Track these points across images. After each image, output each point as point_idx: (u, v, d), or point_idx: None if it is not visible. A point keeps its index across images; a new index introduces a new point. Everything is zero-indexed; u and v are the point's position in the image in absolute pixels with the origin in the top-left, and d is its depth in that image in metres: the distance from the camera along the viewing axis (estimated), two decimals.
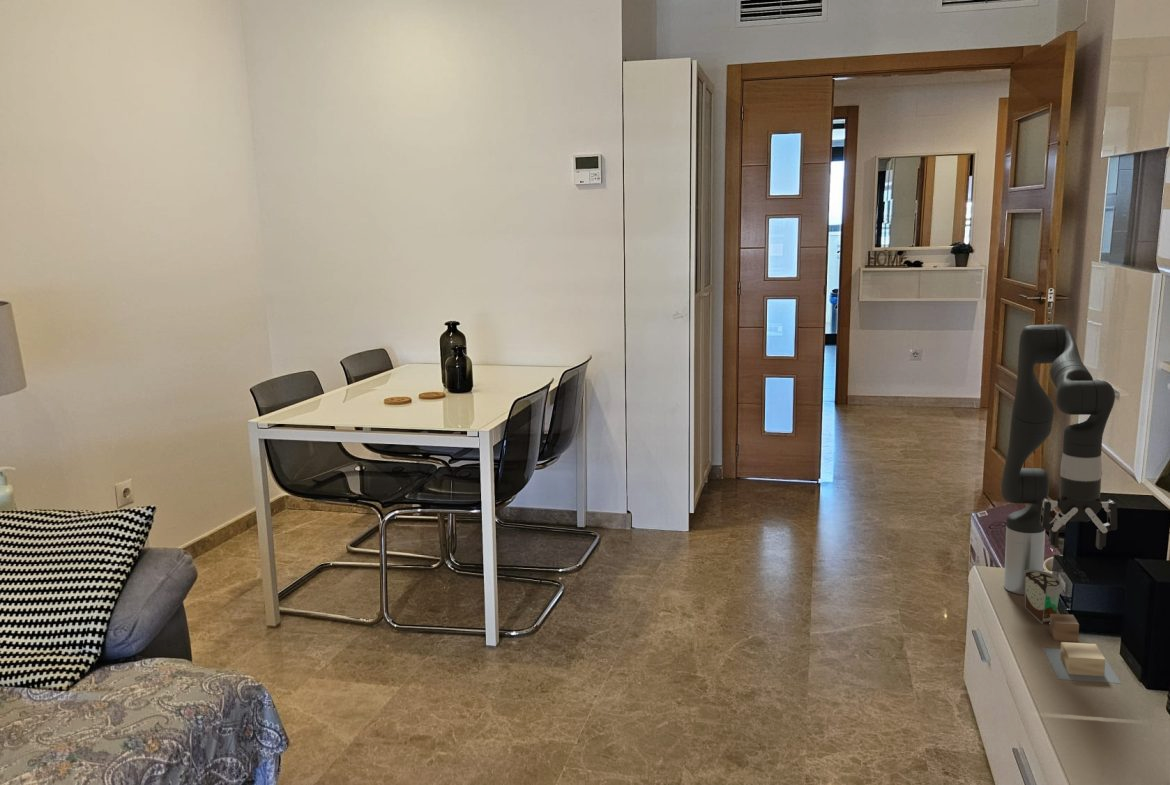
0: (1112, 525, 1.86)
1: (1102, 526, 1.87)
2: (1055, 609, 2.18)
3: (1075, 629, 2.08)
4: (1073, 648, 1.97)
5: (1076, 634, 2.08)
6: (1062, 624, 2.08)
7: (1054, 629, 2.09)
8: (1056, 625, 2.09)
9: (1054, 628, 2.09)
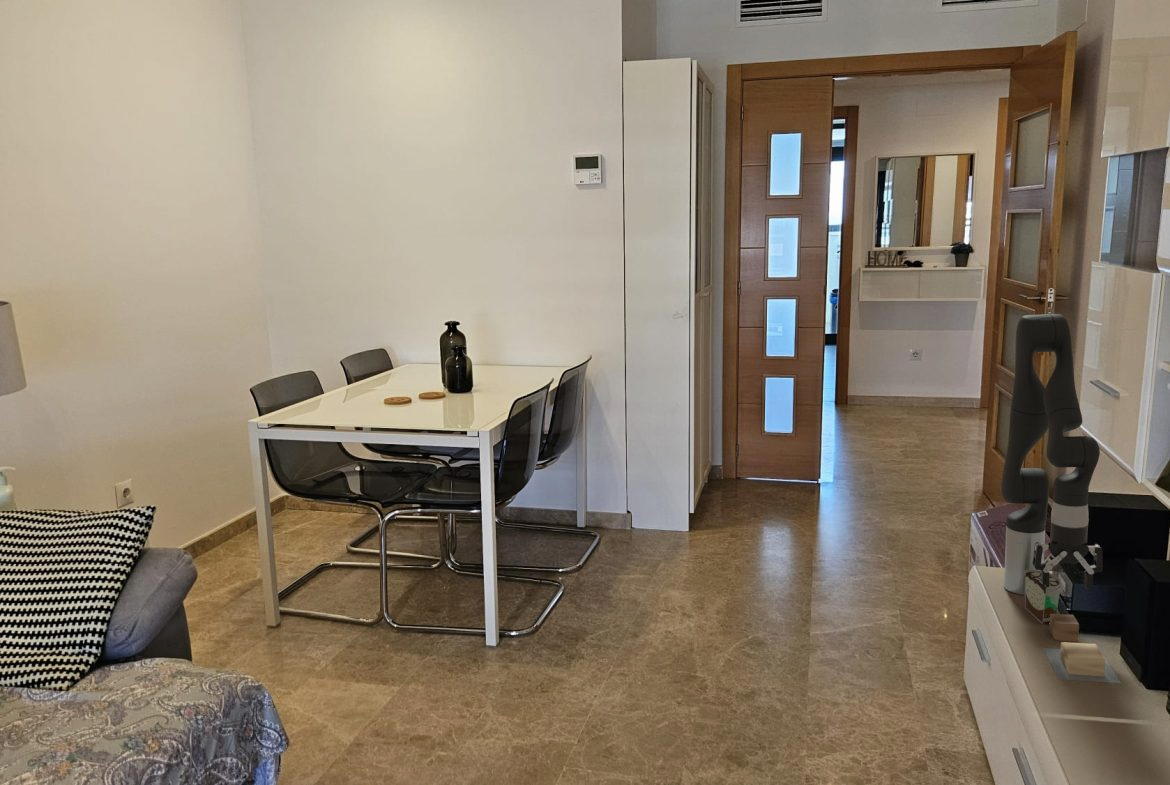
0: (1098, 567, 2.05)
1: (1089, 568, 2.05)
2: (1055, 609, 2.18)
3: (1075, 629, 2.08)
4: (1073, 648, 1.97)
5: (1076, 634, 2.08)
6: (1062, 624, 2.08)
7: (1054, 629, 2.09)
8: (1056, 625, 2.09)
9: (1054, 628, 2.09)
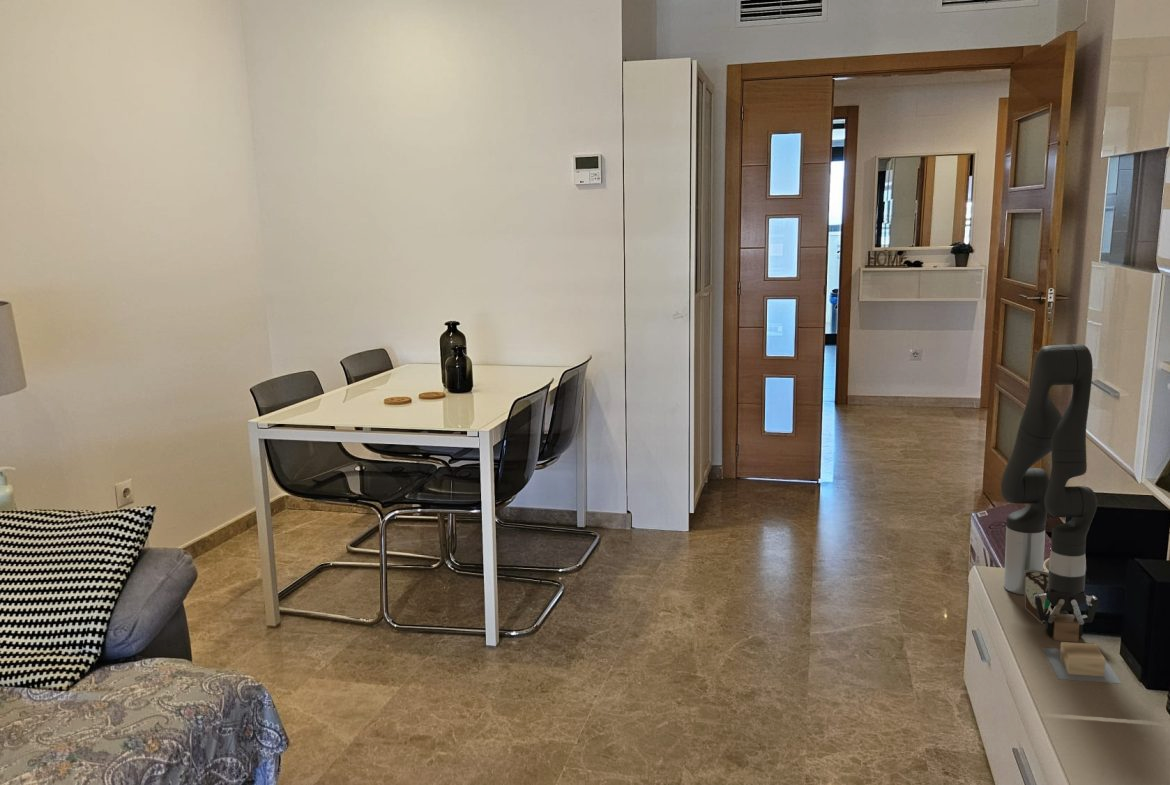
0: (1088, 618, 2.08)
1: (1079, 618, 2.08)
2: None
3: (1075, 629, 2.08)
4: (1073, 648, 1.97)
5: (1076, 633, 2.08)
6: (1062, 624, 2.08)
7: (1054, 629, 2.09)
8: (1056, 625, 2.08)
9: (1054, 628, 2.09)
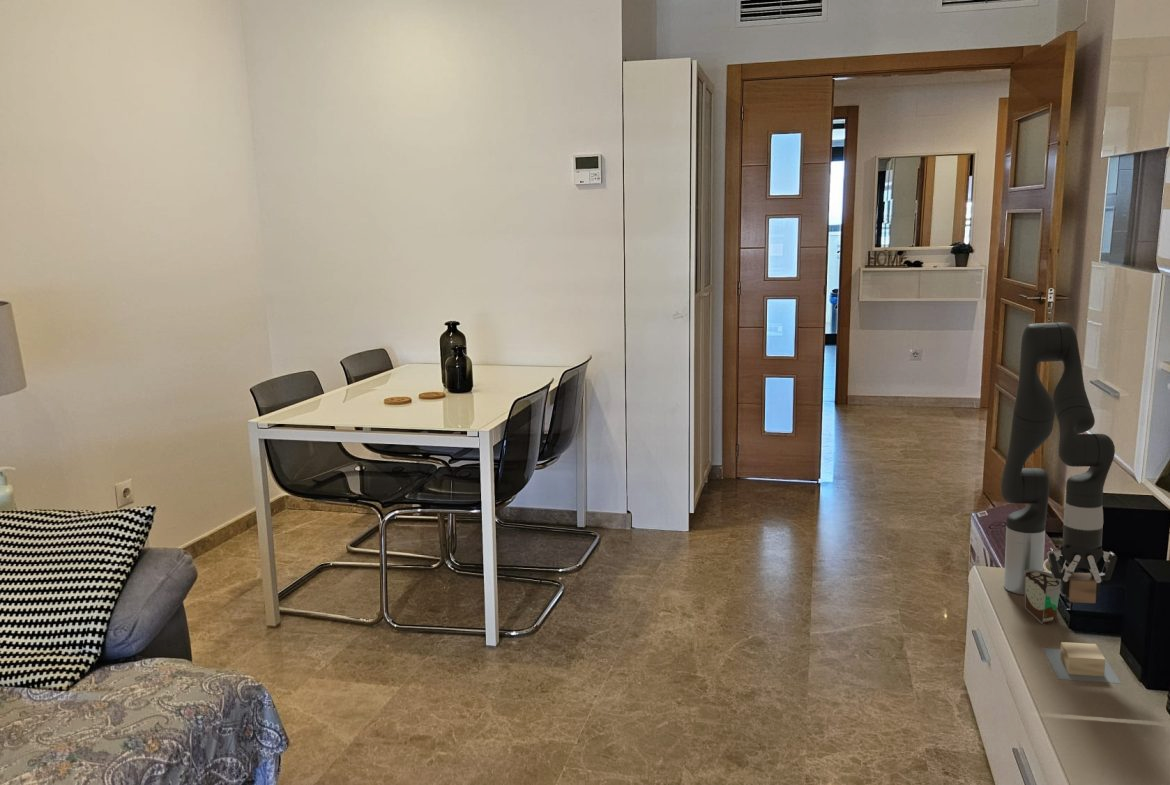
0: (1106, 575, 1.95)
1: (1096, 576, 1.96)
2: (1055, 609, 2.18)
3: (1092, 587, 1.95)
4: (1073, 648, 1.97)
5: (1093, 592, 1.95)
6: (1078, 582, 1.95)
7: (1070, 587, 1.97)
8: (1072, 583, 1.96)
9: (1070, 586, 1.97)
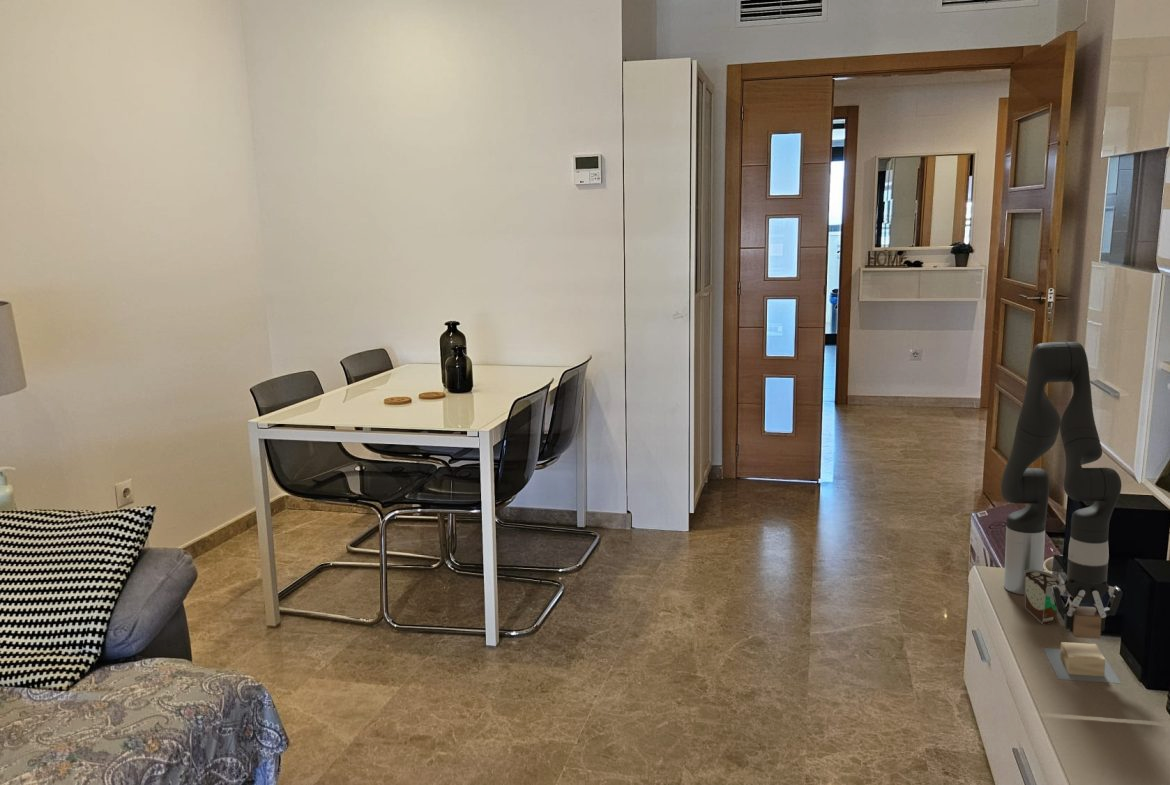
0: (1111, 610, 1.92)
1: (1101, 611, 1.92)
2: (1055, 609, 2.18)
3: (1097, 623, 1.92)
4: (1073, 648, 1.97)
5: (1098, 627, 1.92)
6: (1082, 617, 1.92)
7: (1074, 622, 1.93)
8: (1076, 618, 1.92)
9: (1074, 621, 1.93)
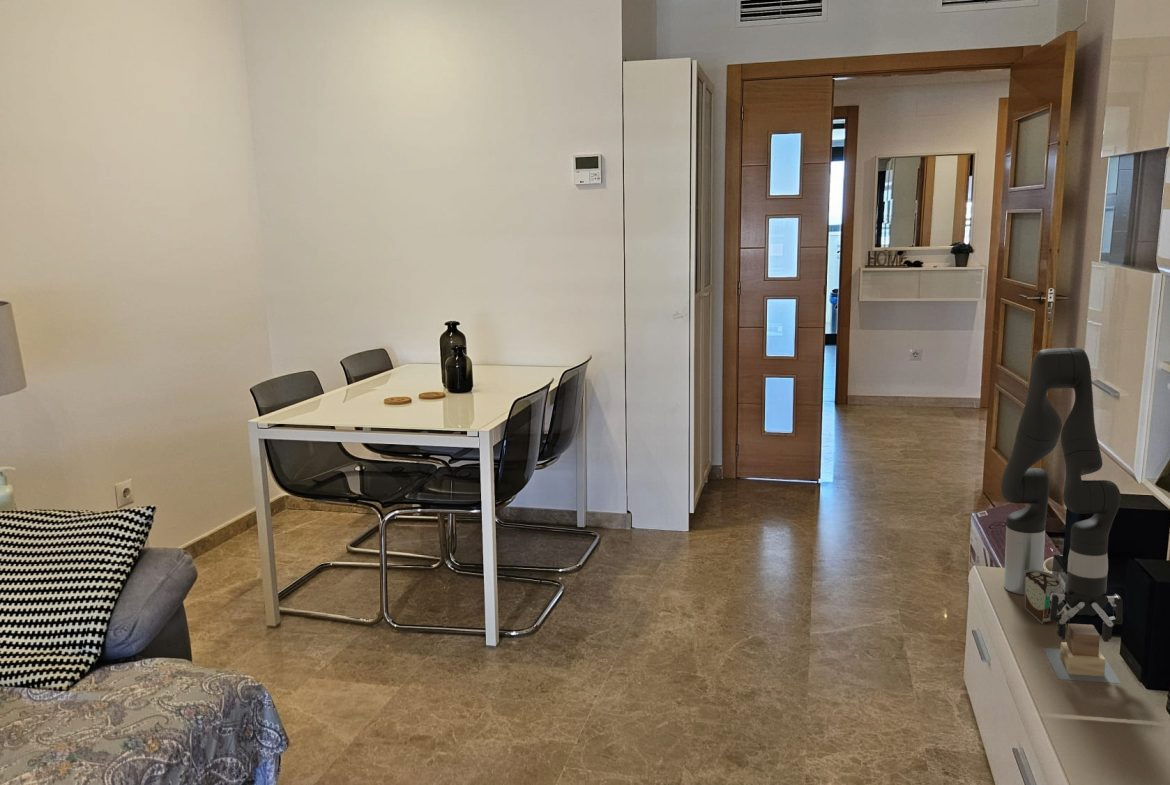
0: (1118, 619, 1.92)
1: (1108, 620, 1.92)
2: None
3: (1095, 641, 1.93)
4: None
5: (1096, 645, 1.93)
6: (1081, 635, 1.93)
7: (1072, 640, 1.94)
8: (1075, 636, 1.93)
9: (1072, 639, 1.94)
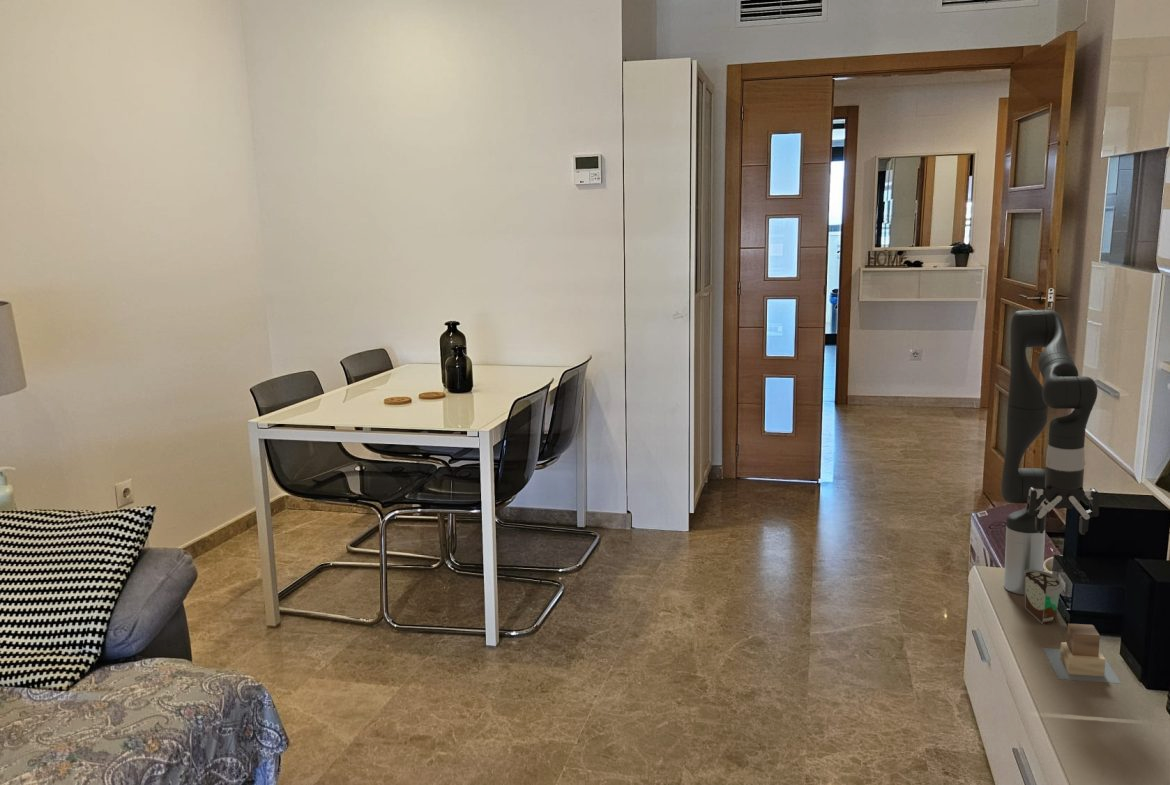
0: (1094, 512, 1.98)
1: (1085, 513, 1.98)
2: (1055, 609, 2.18)
3: (1095, 641, 1.93)
4: None
5: (1096, 645, 1.93)
6: (1081, 635, 1.93)
7: (1072, 640, 1.94)
8: (1075, 636, 1.93)
9: (1072, 639, 1.94)
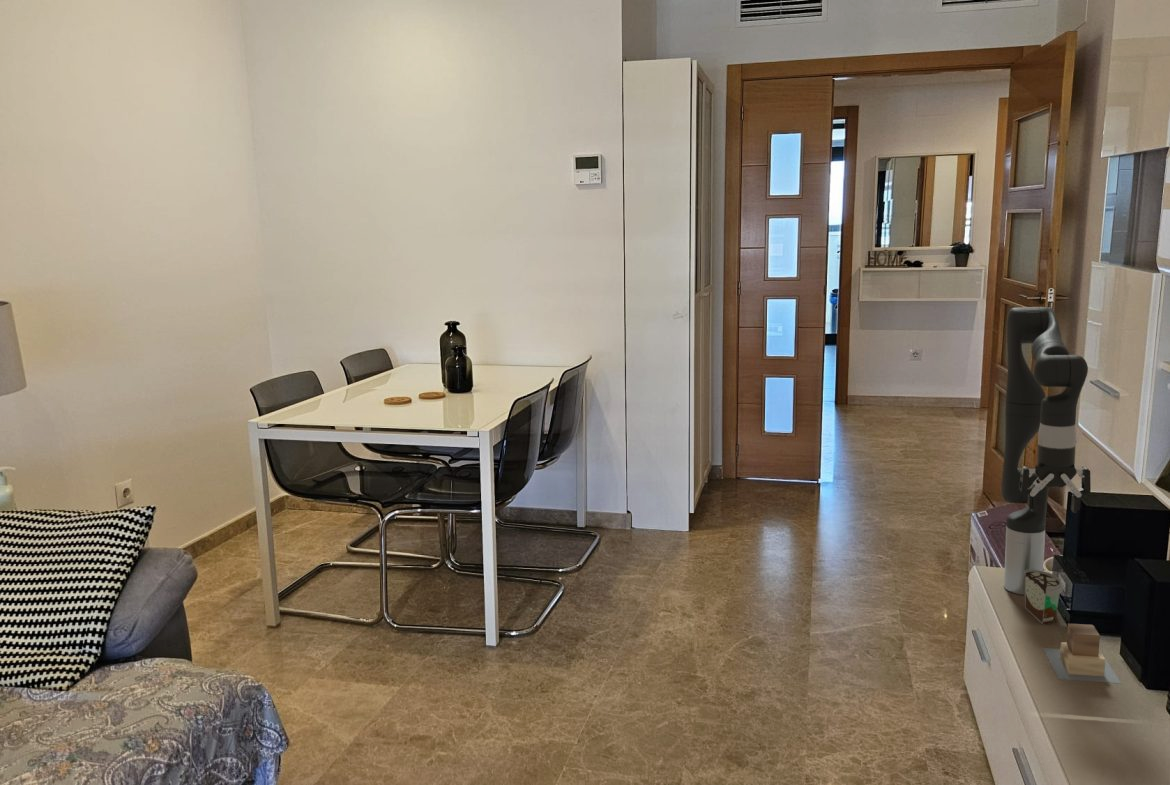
0: (1086, 490, 2.00)
1: (1076, 491, 2.01)
2: (1055, 609, 2.18)
3: (1095, 641, 1.93)
4: None
5: (1096, 645, 1.93)
6: (1081, 635, 1.93)
7: (1072, 640, 1.94)
8: (1075, 636, 1.93)
9: (1072, 639, 1.94)
